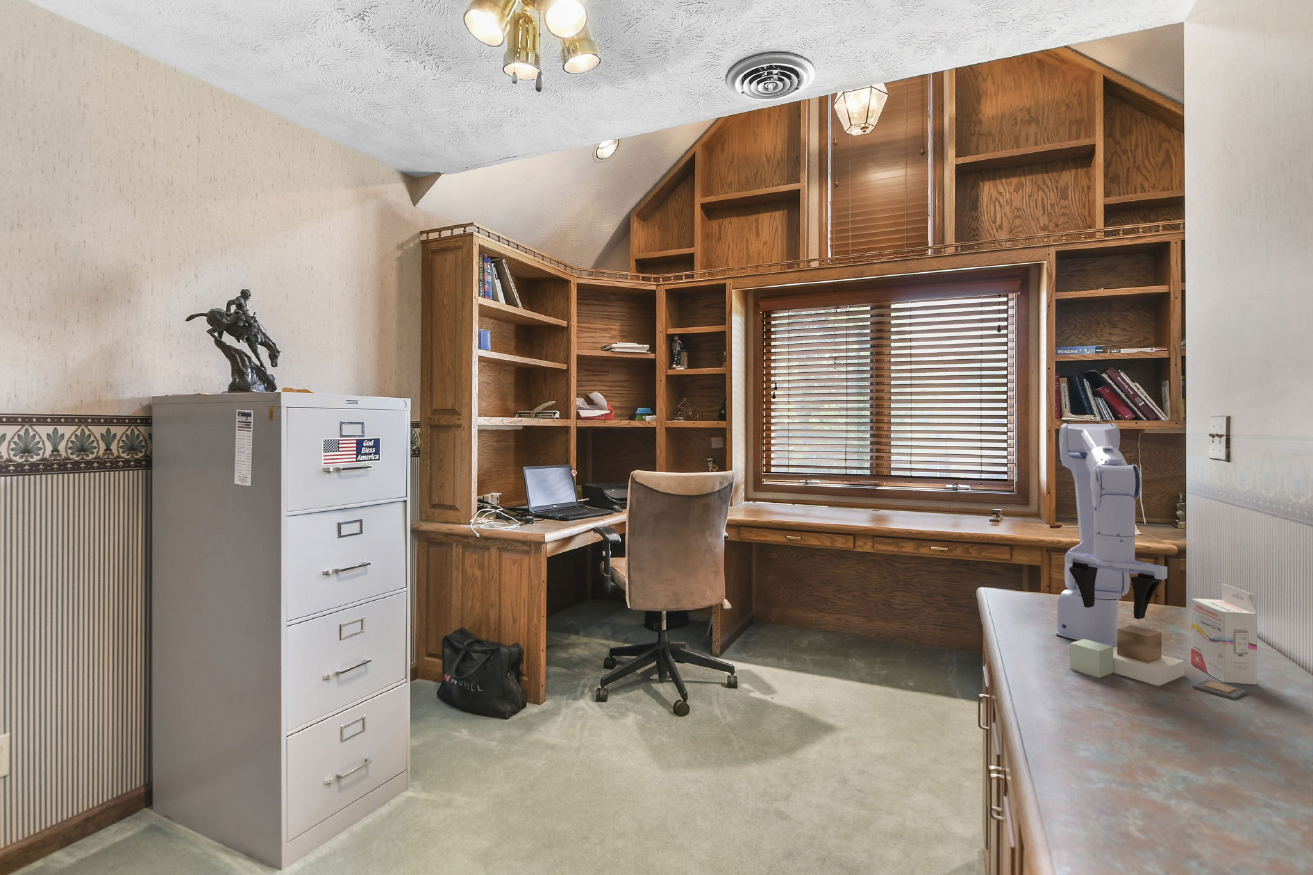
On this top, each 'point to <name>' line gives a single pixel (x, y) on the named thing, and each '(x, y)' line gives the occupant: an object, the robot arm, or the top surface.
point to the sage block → (1091, 658)
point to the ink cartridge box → (1226, 636)
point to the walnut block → (1139, 643)
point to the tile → (1220, 689)
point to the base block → (1148, 669)
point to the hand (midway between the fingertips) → (1113, 612)
